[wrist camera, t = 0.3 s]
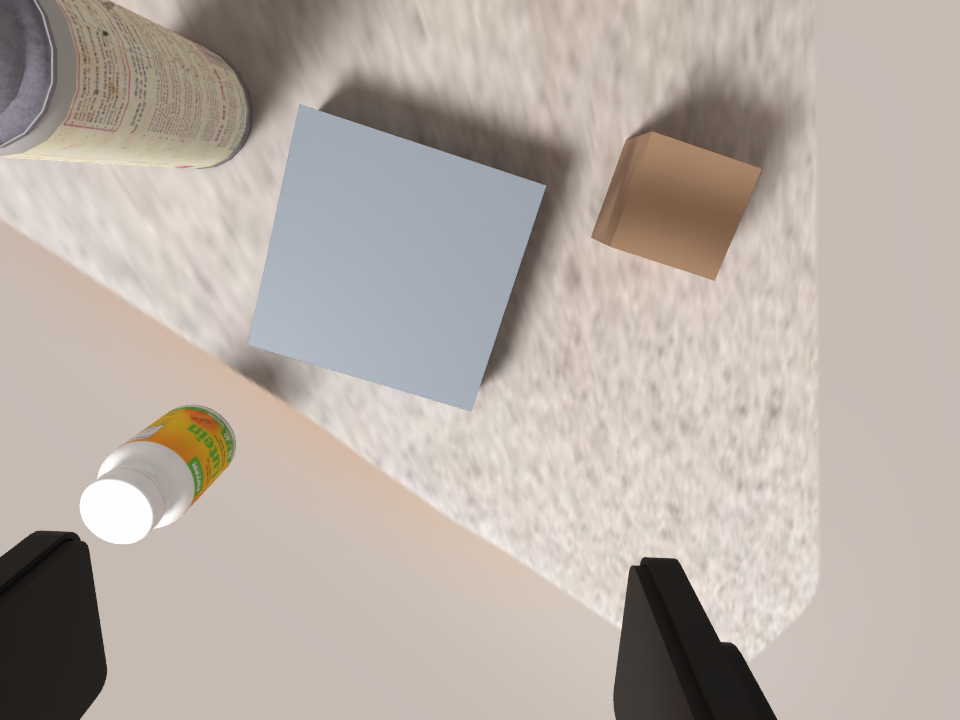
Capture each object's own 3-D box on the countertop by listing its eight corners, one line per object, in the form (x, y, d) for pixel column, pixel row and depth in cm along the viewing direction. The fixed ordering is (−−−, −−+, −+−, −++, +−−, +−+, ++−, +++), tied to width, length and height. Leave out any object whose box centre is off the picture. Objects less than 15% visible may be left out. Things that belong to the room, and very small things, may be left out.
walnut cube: (625, 139, 36) (652, 131, 30) (718, 171, 37) (762, 168, 31) (590, 237, 38) (609, 246, 32) (679, 266, 38) (714, 280, 32)
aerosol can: (129, 41, 35) (-307, -134, 16) (248, 47, 35) (-43, -122, 16) (143, 166, 37) (-233, 145, 18) (255, 171, 37) (3, 155, 18)
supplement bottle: (252, 457, 42) (185, 534, 33) (186, 486, 43) (103, 570, 33) (211, 390, 41) (129, 451, 31) (144, 421, 41) (44, 490, 32)
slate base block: (319, 112, 36) (299, 104, 32) (540, 185, 37) (546, 185, 33) (270, 329, 40) (247, 344, 36) (472, 390, 41) (471, 411, 37)
